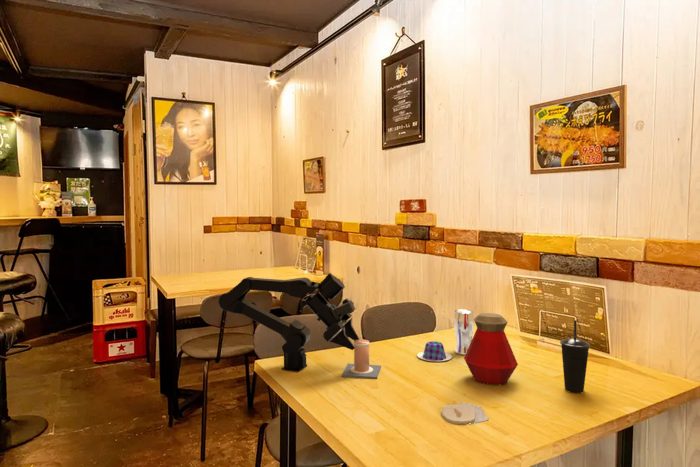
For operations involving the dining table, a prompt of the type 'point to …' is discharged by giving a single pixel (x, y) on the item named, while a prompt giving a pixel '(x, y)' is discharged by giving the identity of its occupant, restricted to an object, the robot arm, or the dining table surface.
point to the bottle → (490, 351)
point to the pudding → (434, 352)
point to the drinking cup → (574, 362)
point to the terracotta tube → (361, 355)
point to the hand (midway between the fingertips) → (356, 344)
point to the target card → (370, 374)
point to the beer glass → (463, 330)
